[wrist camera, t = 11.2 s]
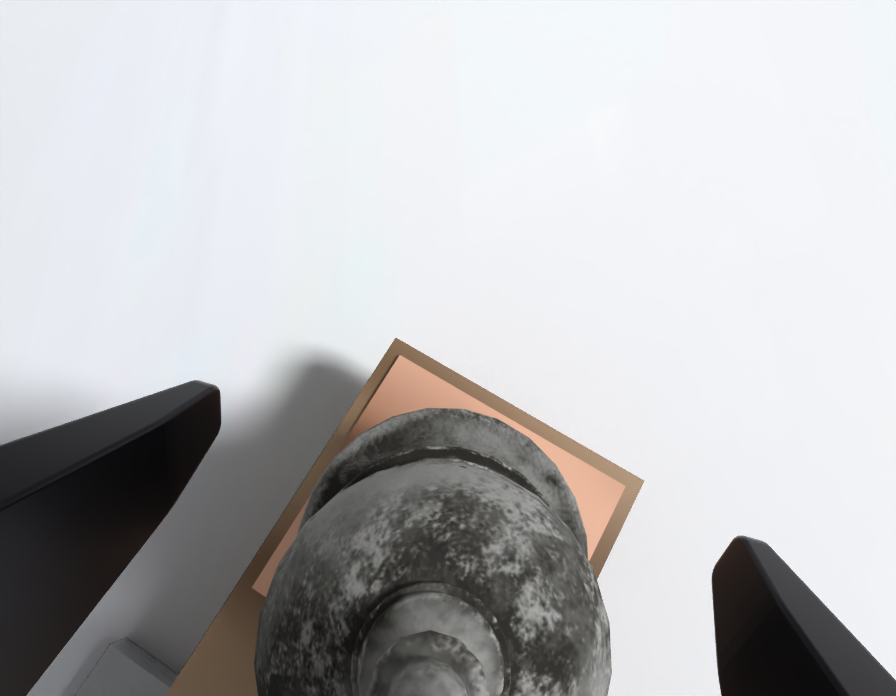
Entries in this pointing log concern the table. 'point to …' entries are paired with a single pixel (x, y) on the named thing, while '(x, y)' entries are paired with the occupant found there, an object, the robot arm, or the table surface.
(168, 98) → the table surface
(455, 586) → the grey rounded piece
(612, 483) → the beam
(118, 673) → the beam stand
